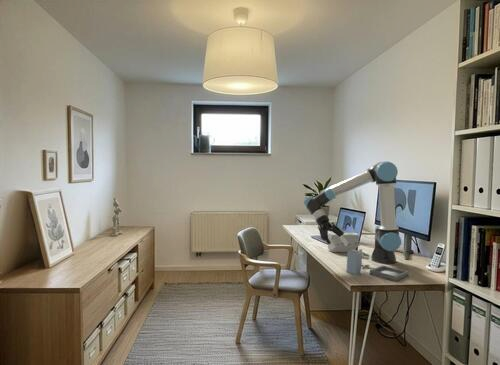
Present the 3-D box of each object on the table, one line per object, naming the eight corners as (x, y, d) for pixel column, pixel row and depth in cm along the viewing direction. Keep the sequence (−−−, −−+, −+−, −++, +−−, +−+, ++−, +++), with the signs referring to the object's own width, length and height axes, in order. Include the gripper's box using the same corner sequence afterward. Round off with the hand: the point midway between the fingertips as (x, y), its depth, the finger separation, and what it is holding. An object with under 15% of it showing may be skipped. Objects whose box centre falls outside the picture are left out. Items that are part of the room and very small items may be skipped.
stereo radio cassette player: (355, 250, 245) (356, 223, 244) (359, 252, 237) (360, 225, 236) (327, 249, 244) (328, 222, 243) (330, 252, 236) (331, 224, 235)
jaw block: (351, 270, 195) (352, 248, 195) (360, 273, 191) (361, 250, 190) (346, 272, 192) (347, 249, 191) (355, 274, 188) (356, 252, 187)
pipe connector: (354, 261, 214) (355, 246, 214) (370, 264, 208) (371, 248, 208) (349, 265, 206) (350, 249, 205) (365, 268, 200) (366, 251, 200)
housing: (382, 269, 199) (382, 265, 198) (408, 276, 187) (408, 271, 187) (369, 274, 189) (369, 270, 189) (395, 281, 177) (396, 277, 177)
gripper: (329, 219, 218) (348, 247, 208) (304, 223, 202) (323, 253, 191) (336, 212, 214) (356, 240, 203) (311, 215, 198) (331, 245, 187)
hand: (340, 246), depth 197 cm, fingers open, 13 cm apart
